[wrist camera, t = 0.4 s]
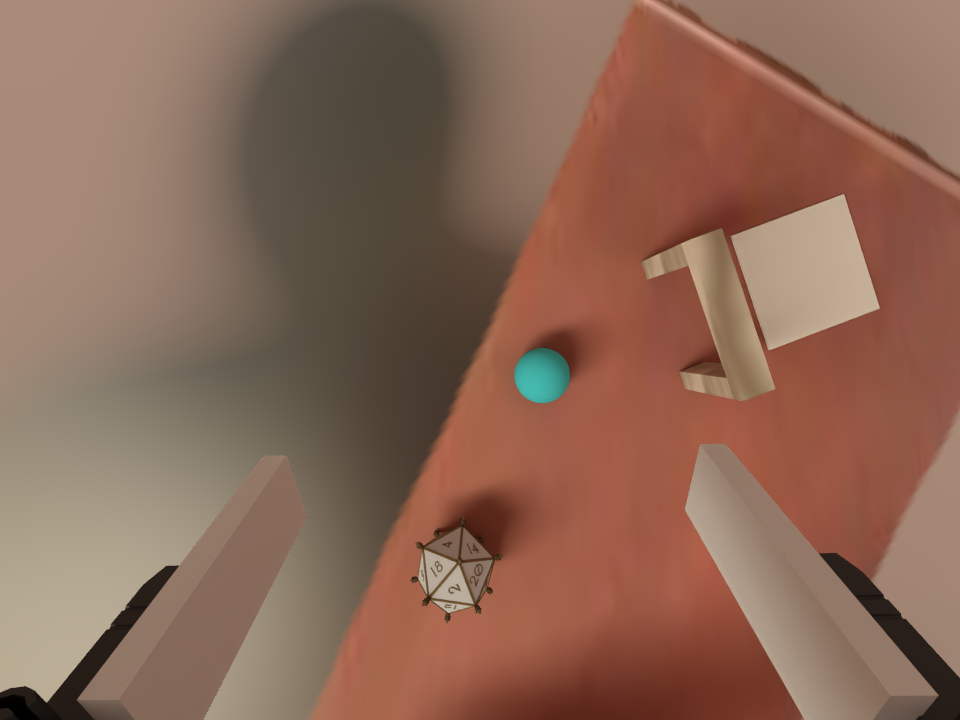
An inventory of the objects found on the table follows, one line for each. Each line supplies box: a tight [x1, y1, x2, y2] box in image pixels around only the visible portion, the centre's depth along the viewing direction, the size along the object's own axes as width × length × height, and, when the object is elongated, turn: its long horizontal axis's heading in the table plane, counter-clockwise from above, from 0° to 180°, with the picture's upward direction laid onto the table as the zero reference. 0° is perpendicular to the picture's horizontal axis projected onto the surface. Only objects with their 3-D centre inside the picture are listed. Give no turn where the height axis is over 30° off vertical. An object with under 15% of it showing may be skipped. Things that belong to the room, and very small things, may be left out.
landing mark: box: [730, 194, 880, 350], centre depth 44 cm, size 13×13×1 cm
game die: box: [410, 516, 503, 623], centre depth 40 cm, size 9×8×10 cm
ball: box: [514, 348, 570, 403], centre depth 41 cm, size 6×6×6 cm
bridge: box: [641, 228, 775, 401], centre depth 39 cm, size 3×14×9 cm, turn 20°
